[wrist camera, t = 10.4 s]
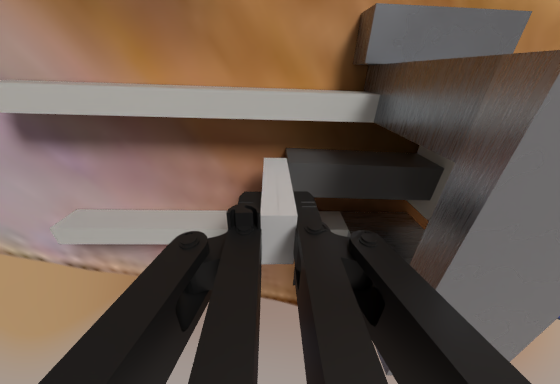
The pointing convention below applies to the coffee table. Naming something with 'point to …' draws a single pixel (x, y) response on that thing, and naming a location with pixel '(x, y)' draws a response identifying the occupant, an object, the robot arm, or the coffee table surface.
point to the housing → (473, 160)
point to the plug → (371, 175)
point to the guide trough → (175, 103)
